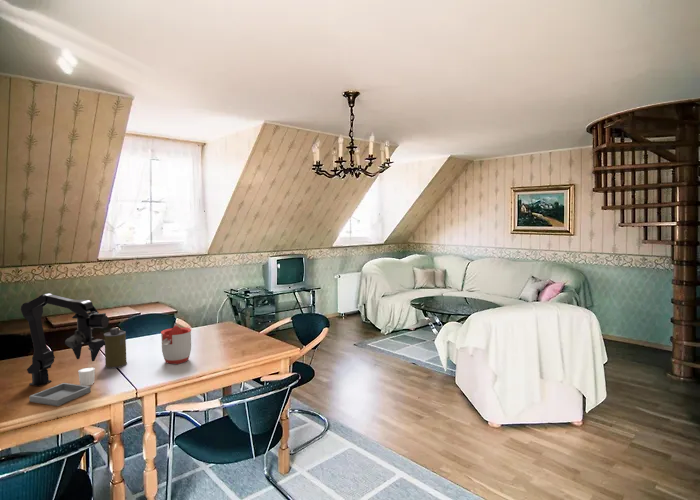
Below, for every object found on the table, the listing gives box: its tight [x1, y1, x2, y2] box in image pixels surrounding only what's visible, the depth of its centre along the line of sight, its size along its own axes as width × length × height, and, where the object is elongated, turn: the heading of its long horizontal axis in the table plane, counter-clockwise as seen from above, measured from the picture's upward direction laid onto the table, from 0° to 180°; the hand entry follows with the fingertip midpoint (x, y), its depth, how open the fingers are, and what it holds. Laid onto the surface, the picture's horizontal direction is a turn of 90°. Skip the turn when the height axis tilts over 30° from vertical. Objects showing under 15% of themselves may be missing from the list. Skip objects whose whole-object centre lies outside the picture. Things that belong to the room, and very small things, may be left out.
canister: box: [103, 327, 128, 369], centre depth 235 cm, size 11×10×20 cm
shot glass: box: [77, 366, 96, 386], centre depth 208 cm, size 7×7×7 cm
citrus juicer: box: [160, 325, 192, 365], centre depth 240 cm, size 16×17×20 cm
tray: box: [28, 382, 92, 407], centre depth 193 cm, size 16×16×2 cm
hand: (85, 360), depth 207 cm, fingers open, 9 cm apart
